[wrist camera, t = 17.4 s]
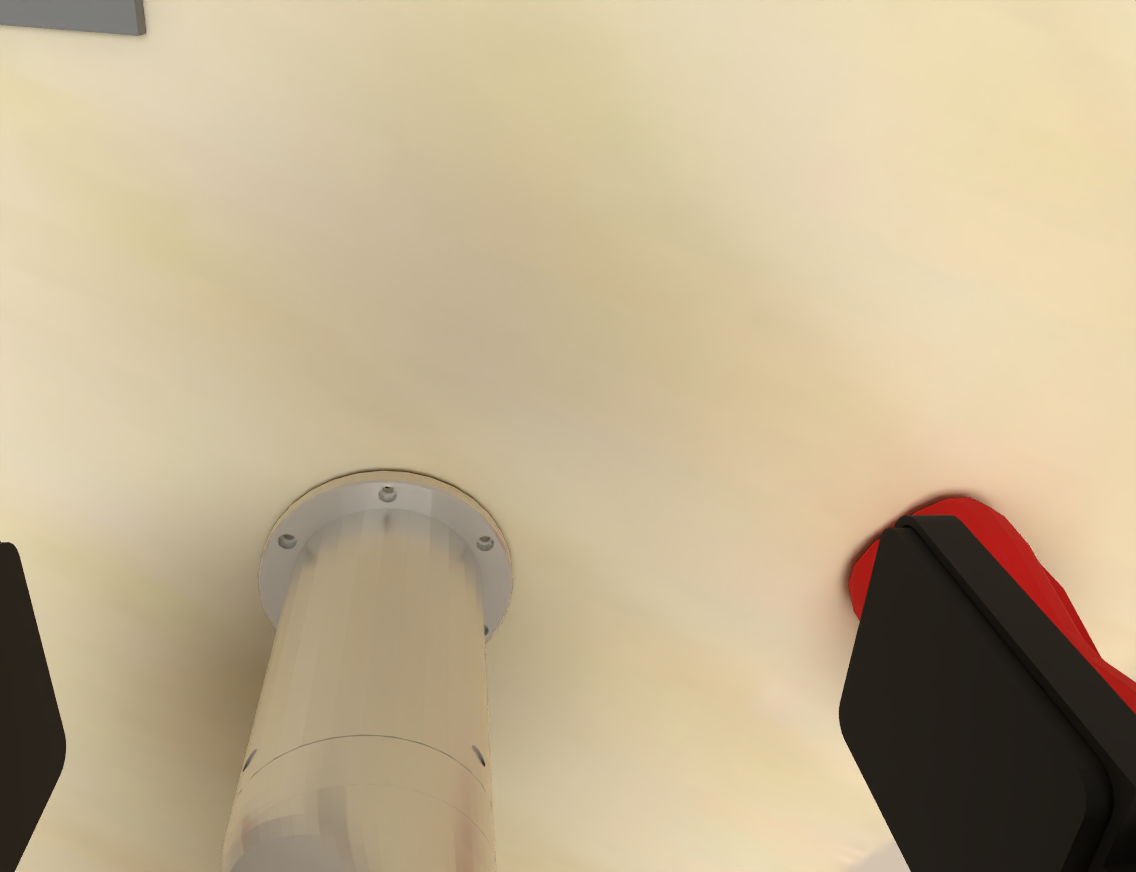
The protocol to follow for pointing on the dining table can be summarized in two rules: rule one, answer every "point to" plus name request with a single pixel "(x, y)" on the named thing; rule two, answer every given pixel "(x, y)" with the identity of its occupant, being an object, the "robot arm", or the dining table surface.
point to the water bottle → (1023, 570)
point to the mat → (76, 15)
